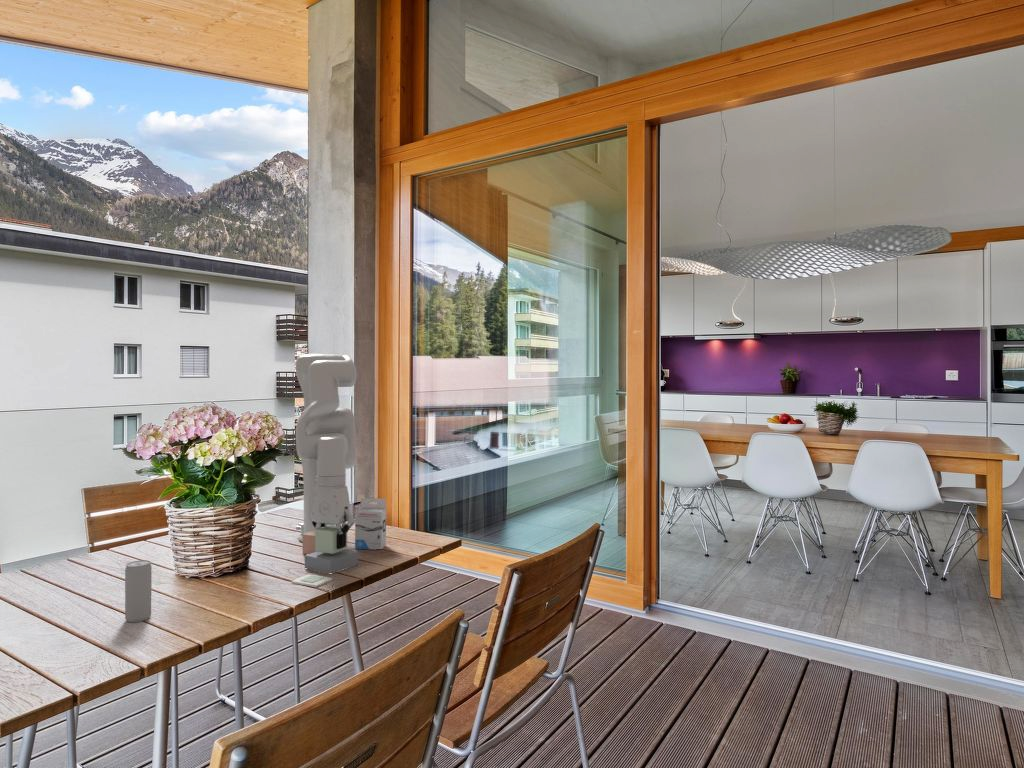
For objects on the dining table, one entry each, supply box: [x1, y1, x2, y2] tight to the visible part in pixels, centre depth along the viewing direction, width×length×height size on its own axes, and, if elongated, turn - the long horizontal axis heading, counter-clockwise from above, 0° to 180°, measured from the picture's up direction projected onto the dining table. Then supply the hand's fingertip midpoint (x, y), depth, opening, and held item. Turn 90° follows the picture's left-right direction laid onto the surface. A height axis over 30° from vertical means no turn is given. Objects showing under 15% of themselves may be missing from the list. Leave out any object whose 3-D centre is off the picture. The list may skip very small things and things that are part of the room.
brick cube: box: [302, 530, 317, 555], centre depth 180 cm, size 6×6×6 cm
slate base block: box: [304, 548, 359, 574], centre depth 166 cm, size 10×10×4 cm
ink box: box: [354, 497, 387, 550], centre depth 185 cm, size 9×5×15 cm, turn 84°
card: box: [291, 573, 333, 588], centre depth 154 cm, size 8×6×1 cm
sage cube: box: [315, 525, 348, 554], centre depth 166 cm, size 6×6×6 cm
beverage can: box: [124, 559, 152, 624], centre depth 129 cm, size 5×5×12 cm
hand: (331, 545), depth 166 cm, fingers closed on sage cube, 6 cm apart
